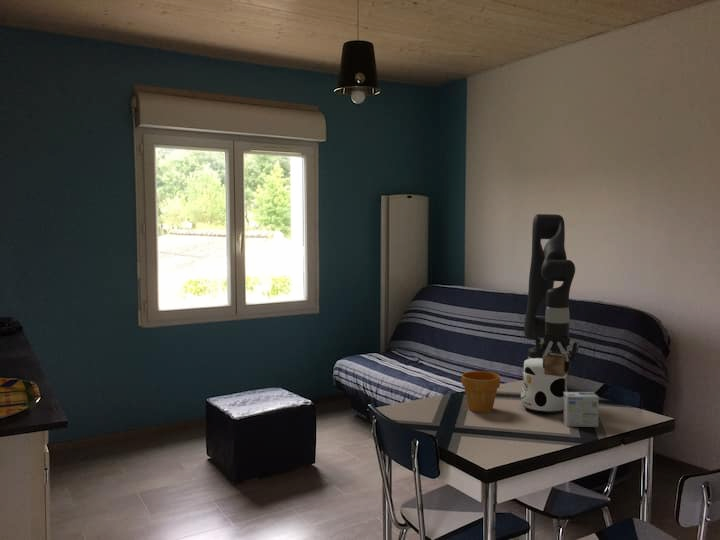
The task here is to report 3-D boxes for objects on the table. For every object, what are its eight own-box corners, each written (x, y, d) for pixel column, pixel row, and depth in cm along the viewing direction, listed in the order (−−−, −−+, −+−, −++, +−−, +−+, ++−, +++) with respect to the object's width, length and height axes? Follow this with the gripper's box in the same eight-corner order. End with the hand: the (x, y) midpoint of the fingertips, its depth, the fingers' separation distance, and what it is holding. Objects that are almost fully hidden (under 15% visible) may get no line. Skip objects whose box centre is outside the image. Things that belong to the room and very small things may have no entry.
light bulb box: (593, 421, 216) (594, 391, 215) (599, 427, 209) (599, 396, 208) (562, 420, 217) (562, 390, 216) (566, 426, 210) (567, 396, 209)
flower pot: (507, 410, 229) (508, 376, 229) (481, 417, 221) (481, 382, 221) (480, 401, 241) (480, 369, 240) (453, 408, 233) (453, 374, 232)
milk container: (511, 405, 236) (512, 359, 234) (549, 401, 241) (550, 356, 240) (538, 418, 219) (539, 369, 218) (578, 413, 225) (579, 365, 224)
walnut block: (544, 374, 201) (544, 356, 201) (550, 370, 206) (550, 353, 206) (562, 376, 198) (562, 358, 197) (568, 373, 203) (568, 355, 202)
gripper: (531, 320, 202) (531, 370, 203) (576, 324, 193) (575, 376, 195) (539, 317, 208) (539, 365, 209) (583, 320, 199) (582, 371, 201)
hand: (556, 370), depth 202 cm, fingers closed on walnut block, 6 cm apart
